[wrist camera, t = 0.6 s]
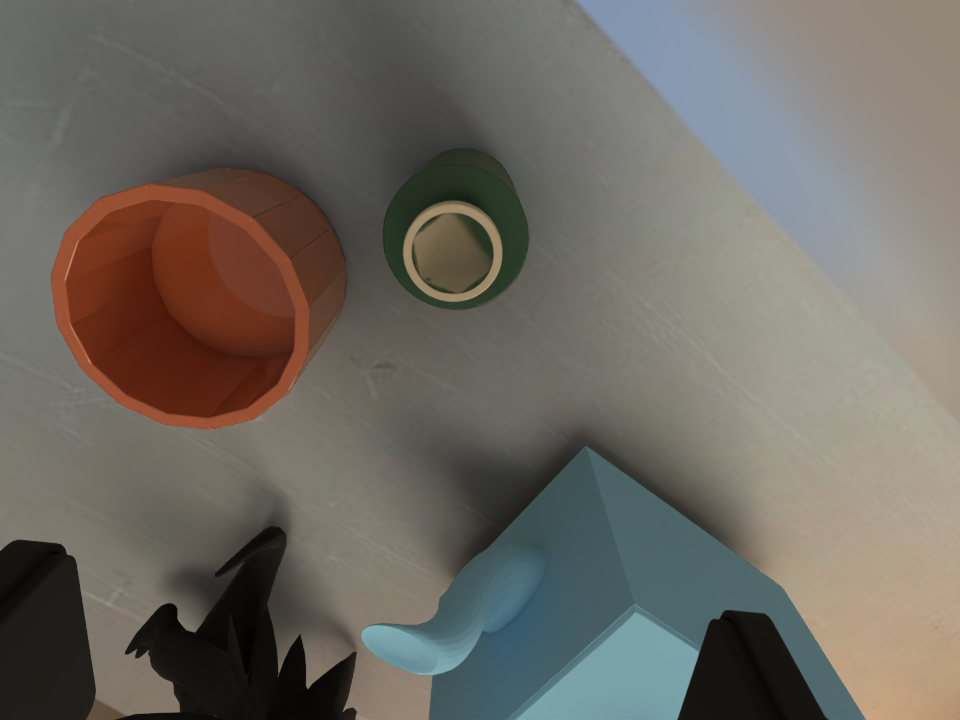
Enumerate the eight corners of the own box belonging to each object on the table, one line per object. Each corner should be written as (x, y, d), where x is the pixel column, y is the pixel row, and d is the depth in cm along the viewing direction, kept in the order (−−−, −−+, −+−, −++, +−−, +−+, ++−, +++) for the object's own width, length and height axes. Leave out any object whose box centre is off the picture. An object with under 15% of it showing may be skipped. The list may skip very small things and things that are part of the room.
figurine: (358, 549, 40) (481, 670, 34) (223, 723, 38) (327, 889, 32) (167, 458, 28) (304, 623, 21) (-53, 710, 25) (25, 983, 19)
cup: (140, 155, 26) (35, 169, 20) (351, 182, 26) (311, 203, 20) (154, 351, 29) (68, 414, 23) (342, 372, 29) (306, 440, 23)
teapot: (803, 590, 34) (1000, 884, 21) (658, 709, 37) (751, 1027, 24) (478, 353, 29) (474, 547, 16) (344, 514, 32) (251, 783, 19)
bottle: (415, 141, 26) (376, 159, 16) (523, 155, 26) (545, 181, 16) (406, 249, 27) (366, 321, 18) (508, 261, 27) (521, 339, 18)
